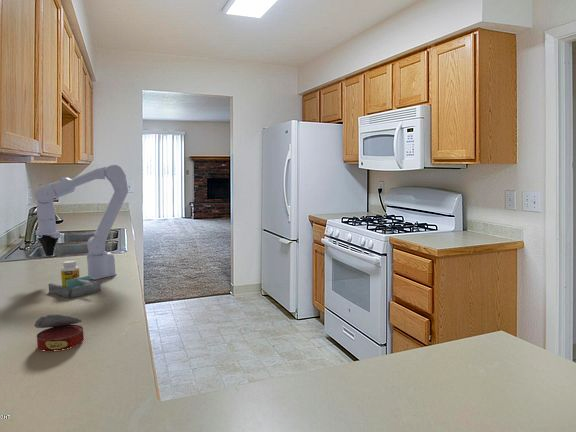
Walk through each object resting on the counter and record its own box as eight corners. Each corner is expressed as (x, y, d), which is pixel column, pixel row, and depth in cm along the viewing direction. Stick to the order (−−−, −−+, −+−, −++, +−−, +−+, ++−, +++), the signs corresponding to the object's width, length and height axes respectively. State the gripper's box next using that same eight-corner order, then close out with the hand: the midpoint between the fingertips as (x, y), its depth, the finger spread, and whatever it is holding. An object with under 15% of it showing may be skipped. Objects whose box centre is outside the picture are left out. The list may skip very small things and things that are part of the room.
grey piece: (79, 285, 160) (78, 277, 159) (100, 290, 152) (99, 282, 152) (49, 292, 151) (48, 283, 151) (69, 298, 143) (69, 289, 143)
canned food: (38, 368, 103) (16, 331, 103) (72, 347, 112) (53, 313, 112) (66, 353, 98) (44, 314, 98) (100, 332, 107) (80, 297, 107)
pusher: (89, 288, 153) (88, 275, 153) (103, 292, 148) (102, 278, 148) (66, 294, 147) (65, 280, 146) (81, 298, 142) (80, 283, 141)
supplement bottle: (63, 294, 149) (61, 264, 148) (61, 290, 153) (59, 261, 152) (81, 291, 152) (79, 261, 151) (79, 287, 156) (77, 259, 155)
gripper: (25, 219, 164) (28, 255, 166) (45, 221, 156) (48, 259, 157) (45, 217, 170) (48, 252, 171) (65, 219, 161) (67, 256, 163)
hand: (49, 255), depth 165 cm, fingers closed
